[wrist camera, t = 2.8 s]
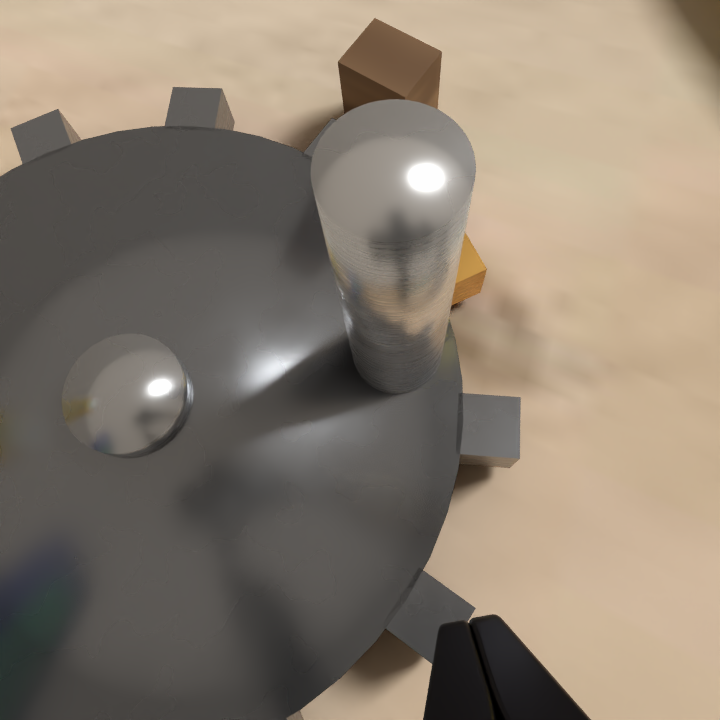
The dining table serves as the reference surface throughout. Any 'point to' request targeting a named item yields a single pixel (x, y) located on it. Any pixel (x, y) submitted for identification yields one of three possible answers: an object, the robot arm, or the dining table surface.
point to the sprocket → (229, 407)
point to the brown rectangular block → (389, 68)
